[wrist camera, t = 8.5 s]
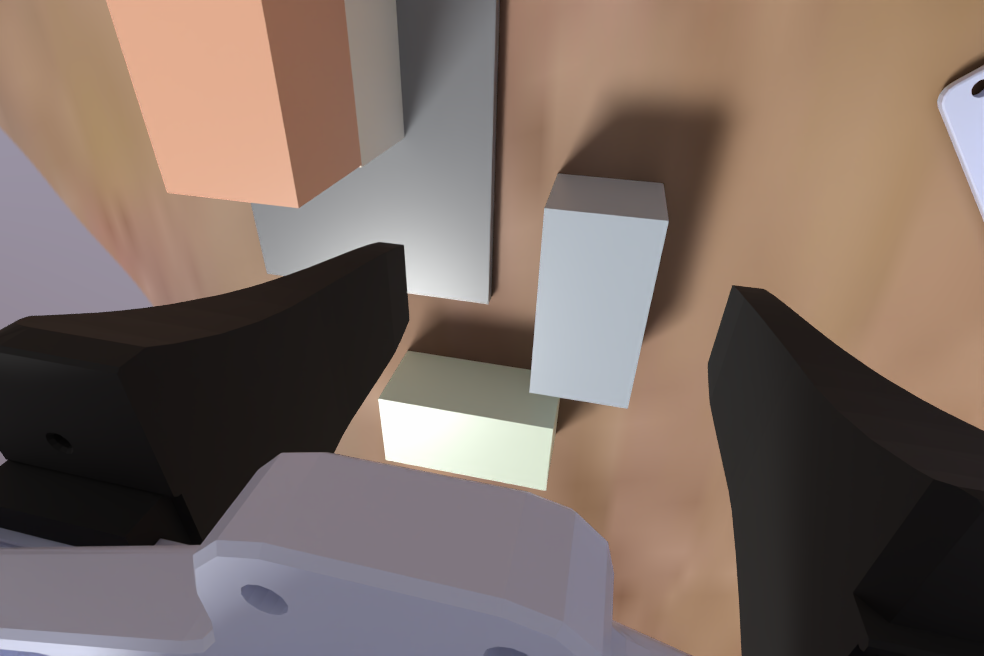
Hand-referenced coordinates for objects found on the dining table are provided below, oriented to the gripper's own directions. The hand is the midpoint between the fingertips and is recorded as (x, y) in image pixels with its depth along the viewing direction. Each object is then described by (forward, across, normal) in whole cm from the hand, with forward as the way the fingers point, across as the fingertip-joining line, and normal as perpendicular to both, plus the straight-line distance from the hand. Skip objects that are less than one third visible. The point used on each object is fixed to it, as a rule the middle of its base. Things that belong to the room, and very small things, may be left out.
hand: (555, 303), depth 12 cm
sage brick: (+11, +4, +12) cm, 17 cm away
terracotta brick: (+6, +9, -5) cm, 12 cm away
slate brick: (+11, -1, +4) cm, 11 cm away
